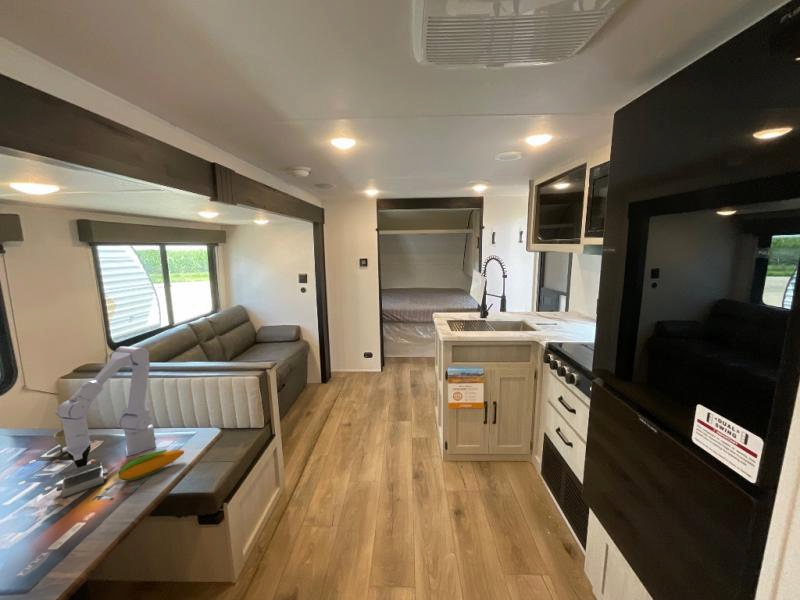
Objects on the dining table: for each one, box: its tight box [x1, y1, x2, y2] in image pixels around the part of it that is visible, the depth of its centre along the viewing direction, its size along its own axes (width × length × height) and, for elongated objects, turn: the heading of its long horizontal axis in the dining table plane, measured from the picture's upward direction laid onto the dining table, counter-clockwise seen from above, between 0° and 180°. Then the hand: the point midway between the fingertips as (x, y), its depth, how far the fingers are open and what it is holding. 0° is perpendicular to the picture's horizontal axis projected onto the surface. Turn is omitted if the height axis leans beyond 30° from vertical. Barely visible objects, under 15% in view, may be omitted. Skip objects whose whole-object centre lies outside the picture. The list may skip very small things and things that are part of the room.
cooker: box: [56, 465, 109, 500], centre depth 113 cm, size 13×8×3 cm, turn 133°
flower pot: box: [53, 425, 89, 449], centre depth 134 cm, size 10×10×7 cm
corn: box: [117, 449, 185, 482], centre depth 121 cm, size 7×8×20 cm
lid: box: [59, 459, 103, 478], centre depth 113 cm, size 10×8×2 cm
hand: (82, 467), depth 114 cm, fingers closed, pressing on lid
